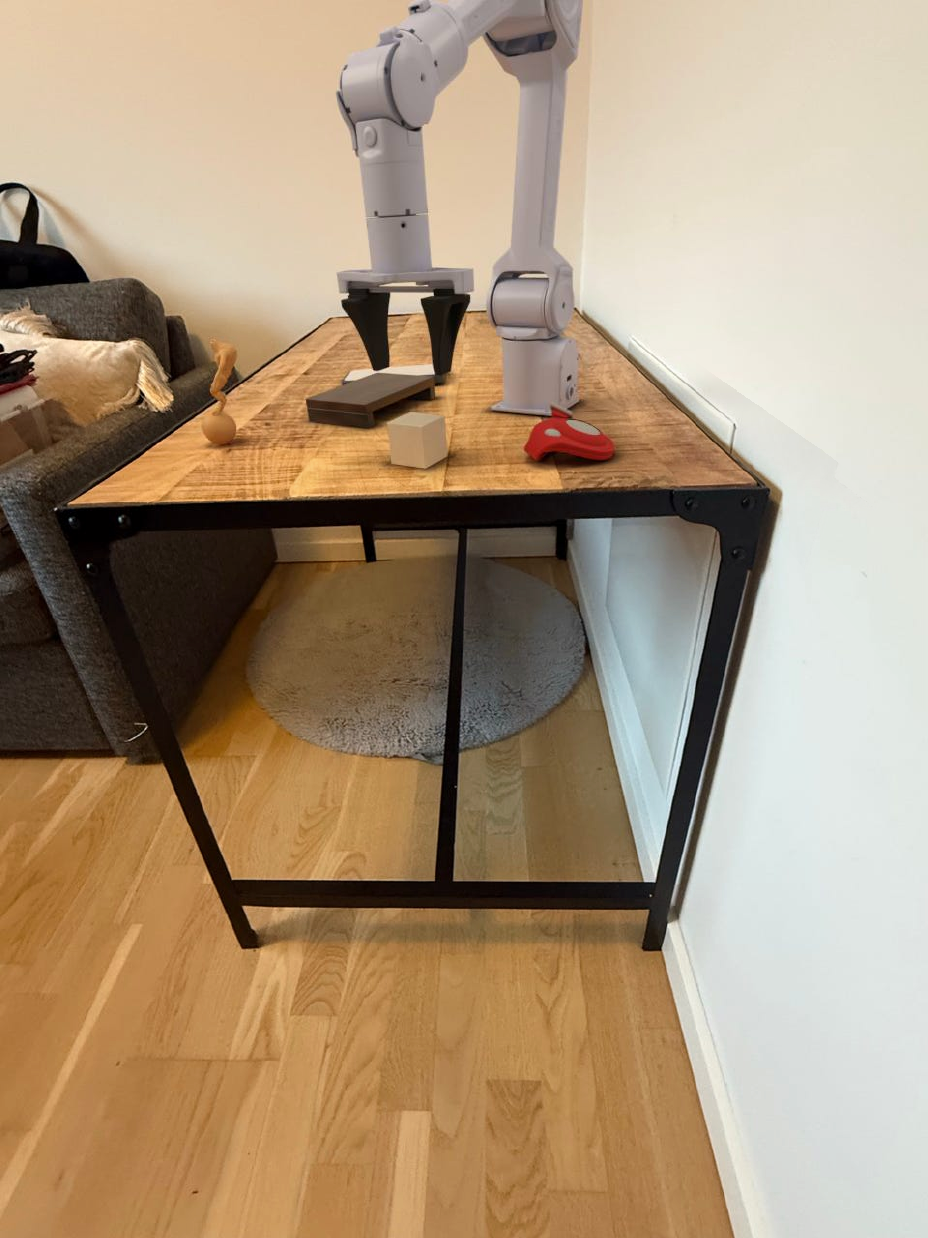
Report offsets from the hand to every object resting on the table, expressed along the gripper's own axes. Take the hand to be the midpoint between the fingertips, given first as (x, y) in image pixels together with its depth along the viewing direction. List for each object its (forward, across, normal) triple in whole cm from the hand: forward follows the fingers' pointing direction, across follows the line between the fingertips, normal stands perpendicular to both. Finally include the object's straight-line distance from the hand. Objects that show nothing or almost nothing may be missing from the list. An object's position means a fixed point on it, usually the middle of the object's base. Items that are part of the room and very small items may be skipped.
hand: (411, 371), depth 68 cm
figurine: (+10, -26, -3) cm, 28 cm away
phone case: (+10, -25, +31) cm, 41 cm away
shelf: (+9, -18, +16) cm, 26 cm away
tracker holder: (+10, +14, +9) cm, 19 cm away
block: (+9, 0, 0) cm, 9 cm away
